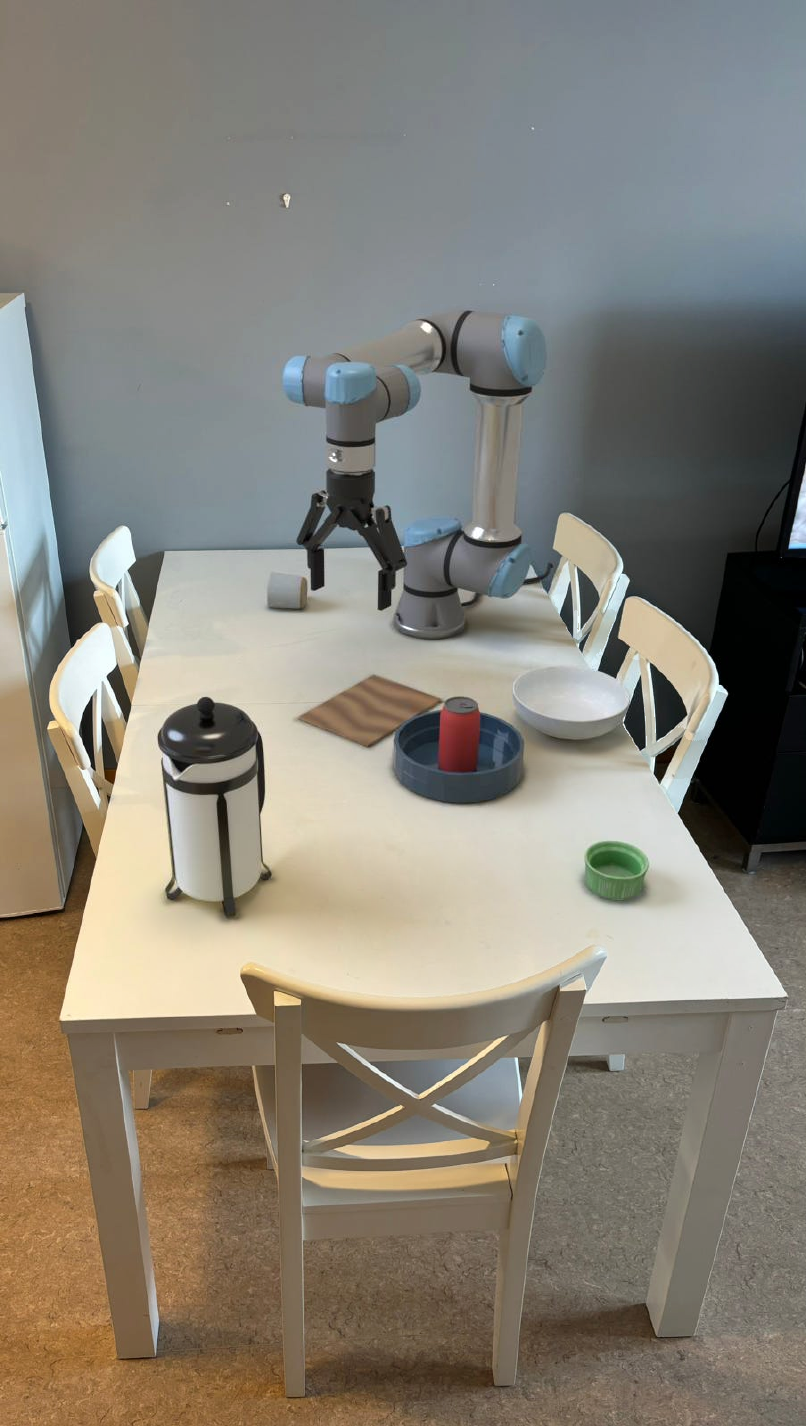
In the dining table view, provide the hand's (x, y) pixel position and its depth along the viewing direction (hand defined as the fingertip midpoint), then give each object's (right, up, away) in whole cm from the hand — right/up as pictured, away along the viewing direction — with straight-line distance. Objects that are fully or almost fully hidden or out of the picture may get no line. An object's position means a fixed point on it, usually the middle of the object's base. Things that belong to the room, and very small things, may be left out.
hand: (350, 598), depth 175 cm
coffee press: (-17, -43, -23) cm, 51 cm away
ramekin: (+38, -43, -22) cm, 62 cm away
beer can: (+18, -28, +5) cm, 33 cm away
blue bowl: (+18, -28, +5) cm, 34 cm away
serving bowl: (+38, -21, +19) cm, 48 cm away
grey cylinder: (-17, +5, +65) cm, 67 cm away
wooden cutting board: (+3, -18, +22) cm, 29 cm away
